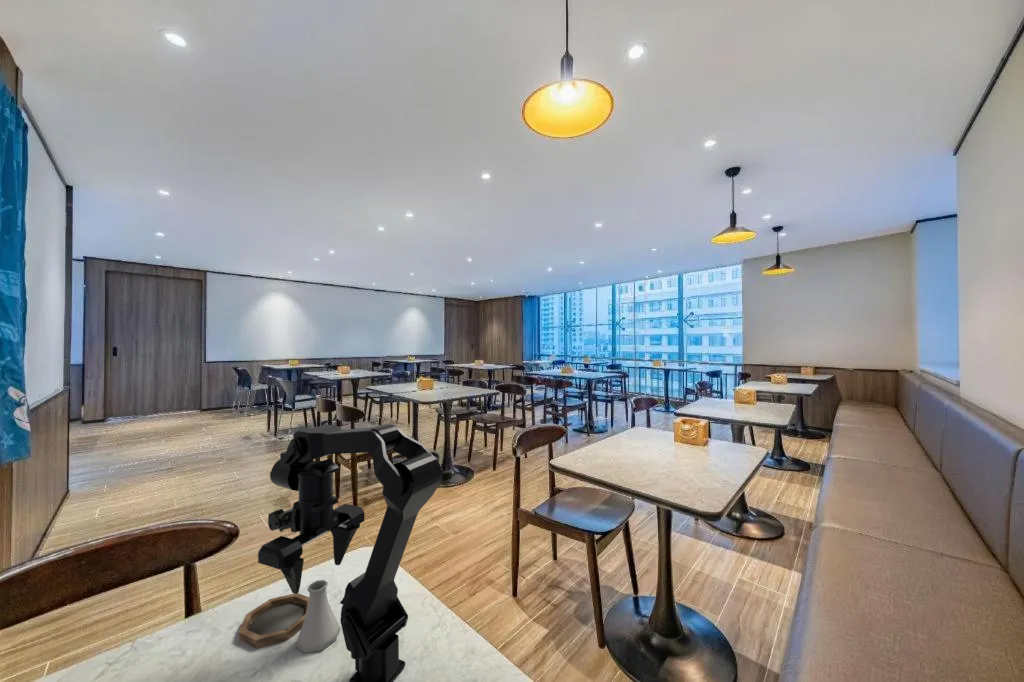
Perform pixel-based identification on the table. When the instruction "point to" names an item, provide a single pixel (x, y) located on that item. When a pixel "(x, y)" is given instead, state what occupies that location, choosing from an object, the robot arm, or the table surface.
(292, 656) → the table surface
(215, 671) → the table surface
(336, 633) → the flask
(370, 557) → the robot arm
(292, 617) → the brown octagonal tray
